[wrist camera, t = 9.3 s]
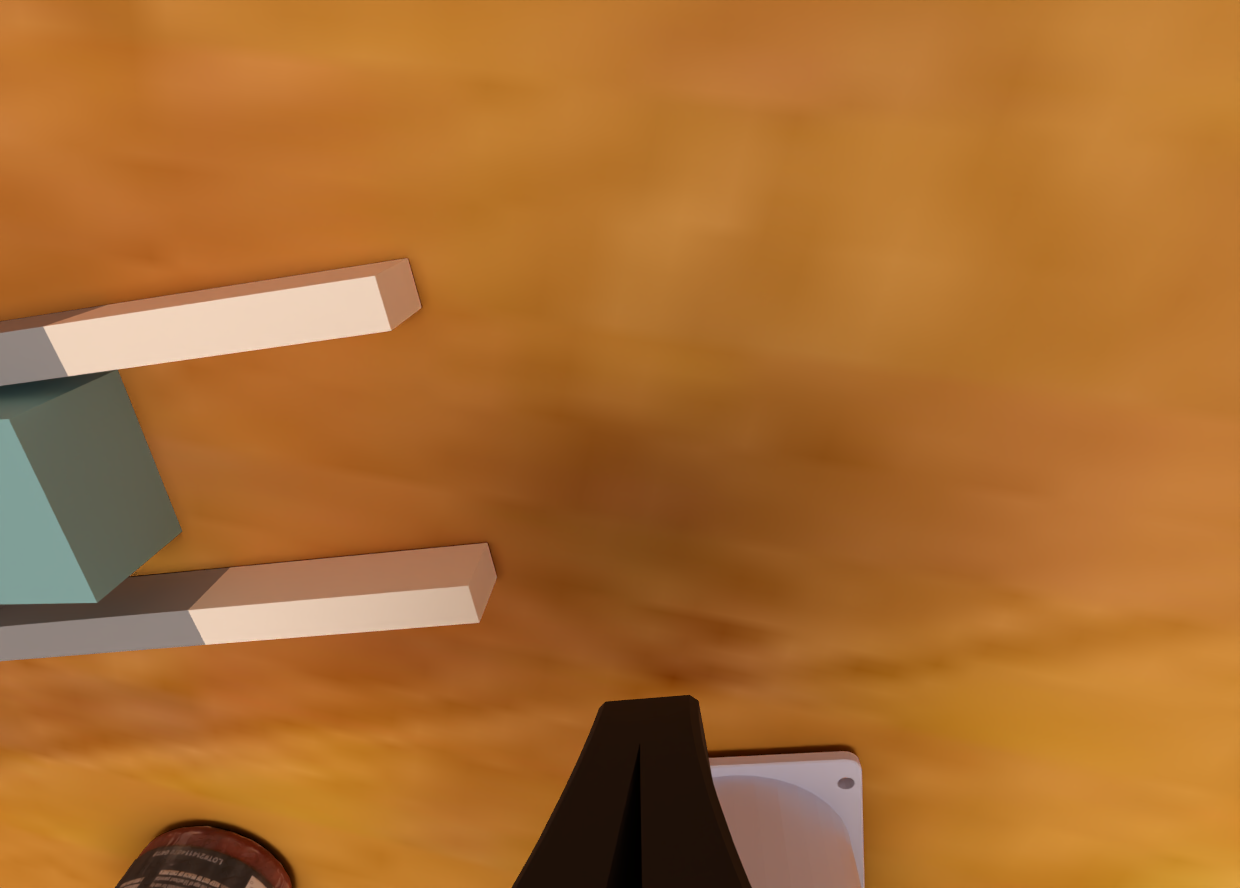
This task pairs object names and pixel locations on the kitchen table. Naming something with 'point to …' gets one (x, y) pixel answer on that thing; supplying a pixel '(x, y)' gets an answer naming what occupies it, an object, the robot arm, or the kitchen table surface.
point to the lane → (244, 595)
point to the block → (75, 491)
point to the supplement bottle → (204, 862)
